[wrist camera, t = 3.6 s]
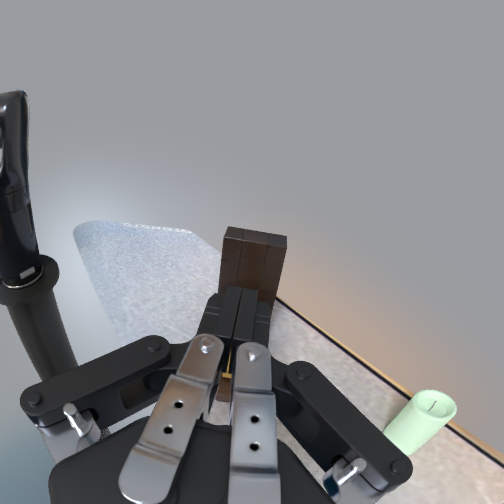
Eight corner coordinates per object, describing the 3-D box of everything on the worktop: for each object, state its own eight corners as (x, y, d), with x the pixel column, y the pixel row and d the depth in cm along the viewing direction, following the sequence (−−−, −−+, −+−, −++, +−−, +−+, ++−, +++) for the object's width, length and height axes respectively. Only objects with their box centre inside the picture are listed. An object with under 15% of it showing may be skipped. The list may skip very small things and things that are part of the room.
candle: (374, 430, 27) (410, 388, 23) (405, 417, 28) (441, 375, 24) (392, 463, 23) (435, 427, 19) (423, 447, 24) (465, 409, 20)
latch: (259, 407, 29) (287, 316, 22) (195, 395, 29) (197, 300, 23) (267, 319, 42) (286, 234, 36) (219, 310, 42) (228, 224, 36)
